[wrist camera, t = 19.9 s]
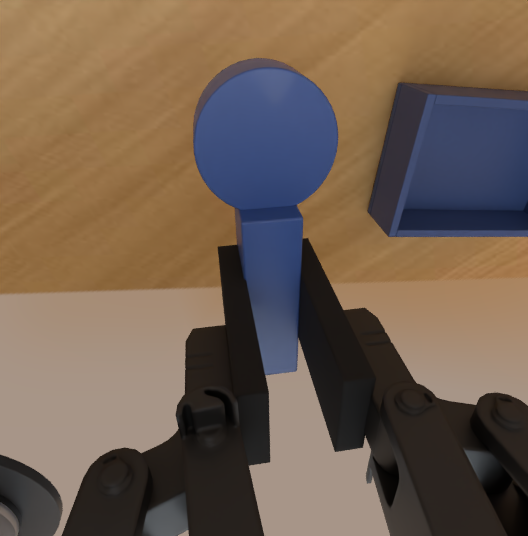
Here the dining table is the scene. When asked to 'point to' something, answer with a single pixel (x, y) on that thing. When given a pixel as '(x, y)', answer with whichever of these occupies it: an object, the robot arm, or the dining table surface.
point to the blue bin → (454, 163)
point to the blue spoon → (266, 183)
